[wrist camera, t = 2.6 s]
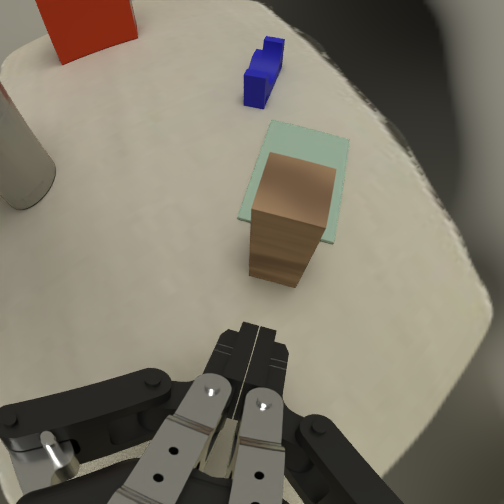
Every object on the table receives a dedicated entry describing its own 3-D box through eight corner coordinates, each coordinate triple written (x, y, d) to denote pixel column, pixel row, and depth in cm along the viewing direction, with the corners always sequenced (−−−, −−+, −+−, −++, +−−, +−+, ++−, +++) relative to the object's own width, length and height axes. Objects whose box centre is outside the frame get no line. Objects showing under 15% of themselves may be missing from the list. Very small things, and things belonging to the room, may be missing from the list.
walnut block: (295, 287, 33) (326, 228, 20) (248, 275, 34) (251, 208, 21) (305, 245, 35) (336, 168, 22) (261, 233, 36) (269, 151, 23)
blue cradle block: (256, 62, 48) (257, 34, 43) (281, 67, 48) (284, 39, 42) (233, 104, 44) (233, 73, 38) (263, 110, 43) (265, 78, 38)
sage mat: (332, 244, 35) (333, 242, 35) (237, 219, 36) (237, 217, 36) (348, 141, 41) (349, 139, 41) (271, 122, 42) (271, 119, 42)
